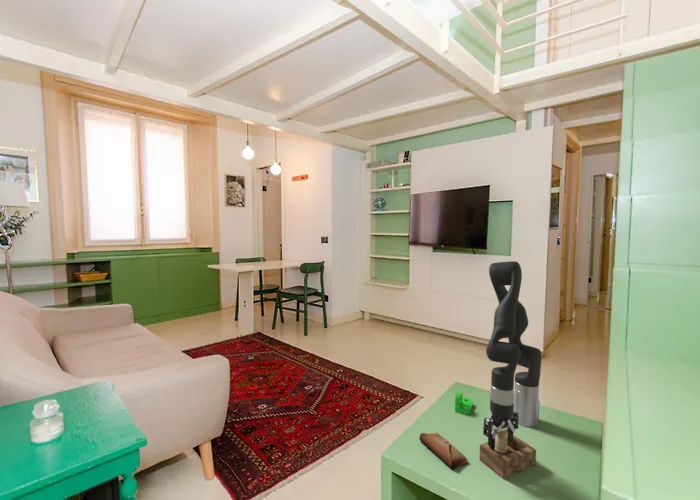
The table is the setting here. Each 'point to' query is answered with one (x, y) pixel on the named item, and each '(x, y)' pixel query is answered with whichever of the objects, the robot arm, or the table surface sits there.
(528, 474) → the table surface
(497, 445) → the peg
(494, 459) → the brown wooden box
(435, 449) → the sunglasses case
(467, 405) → the mechanical part
